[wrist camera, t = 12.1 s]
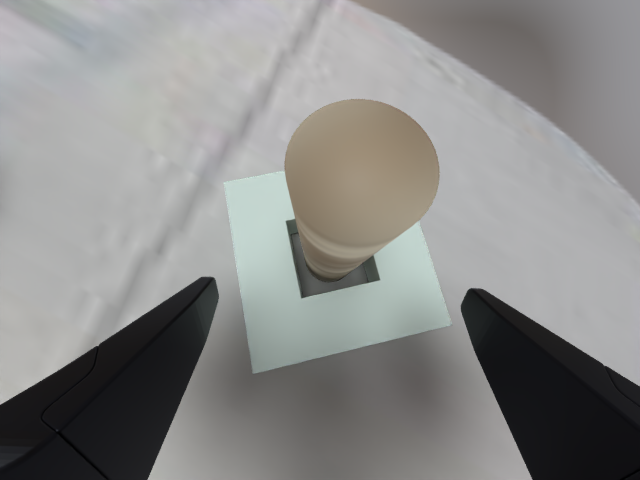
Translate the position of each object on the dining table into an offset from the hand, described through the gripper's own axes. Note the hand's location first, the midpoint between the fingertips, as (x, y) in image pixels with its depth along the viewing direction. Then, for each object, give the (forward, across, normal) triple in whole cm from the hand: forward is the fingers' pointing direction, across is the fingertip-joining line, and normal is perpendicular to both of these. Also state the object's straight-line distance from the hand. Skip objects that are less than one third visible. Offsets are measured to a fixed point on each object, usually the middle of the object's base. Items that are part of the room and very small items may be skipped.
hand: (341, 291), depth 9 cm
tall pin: (+9, 0, +5) cm, 10 cm away
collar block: (+9, 0, +5) cm, 10 cm away
